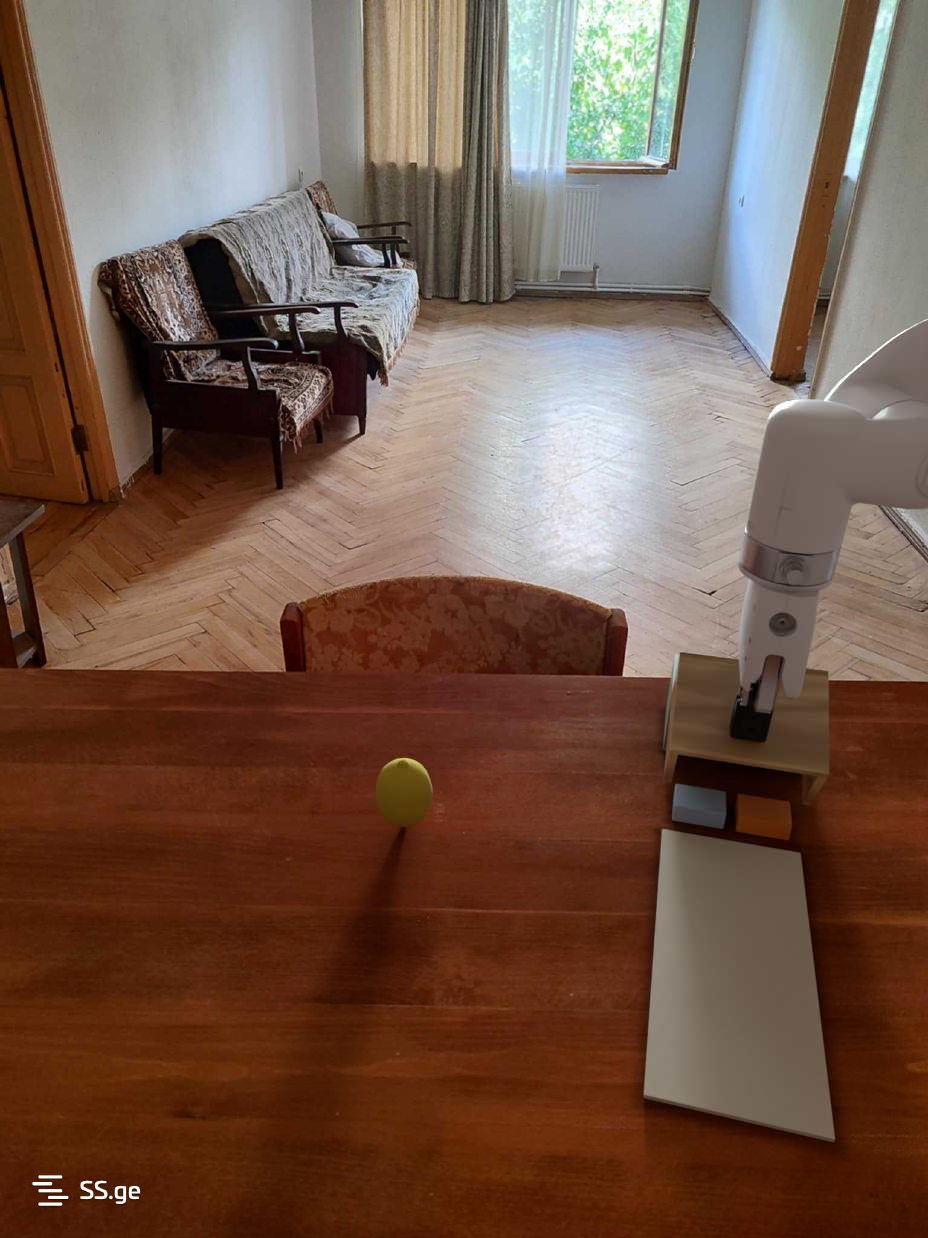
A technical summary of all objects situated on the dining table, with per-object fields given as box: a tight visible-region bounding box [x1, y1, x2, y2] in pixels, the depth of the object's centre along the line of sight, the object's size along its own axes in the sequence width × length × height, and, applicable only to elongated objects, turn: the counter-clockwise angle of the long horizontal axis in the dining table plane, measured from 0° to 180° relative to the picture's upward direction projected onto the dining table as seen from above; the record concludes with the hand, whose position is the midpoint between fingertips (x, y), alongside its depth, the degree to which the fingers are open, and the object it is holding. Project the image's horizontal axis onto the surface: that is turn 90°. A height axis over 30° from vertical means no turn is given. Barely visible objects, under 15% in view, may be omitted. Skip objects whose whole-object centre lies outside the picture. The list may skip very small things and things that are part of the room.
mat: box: [643, 828, 836, 1143], centre depth 74 cm, size 28×13×1 cm, turn 166°
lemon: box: [374, 757, 433, 828], centre depth 86 cm, size 6×6×8 cm
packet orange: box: [734, 793, 793, 841], centre depth 88 cm, size 4×5×2 cm
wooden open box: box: [662, 650, 830, 807], centre depth 87 cm, size 8×14×11 cm
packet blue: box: [671, 783, 727, 830], centre depth 89 cm, size 4×5×2 cm
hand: (747, 735), depth 81 cm, fingers closed
